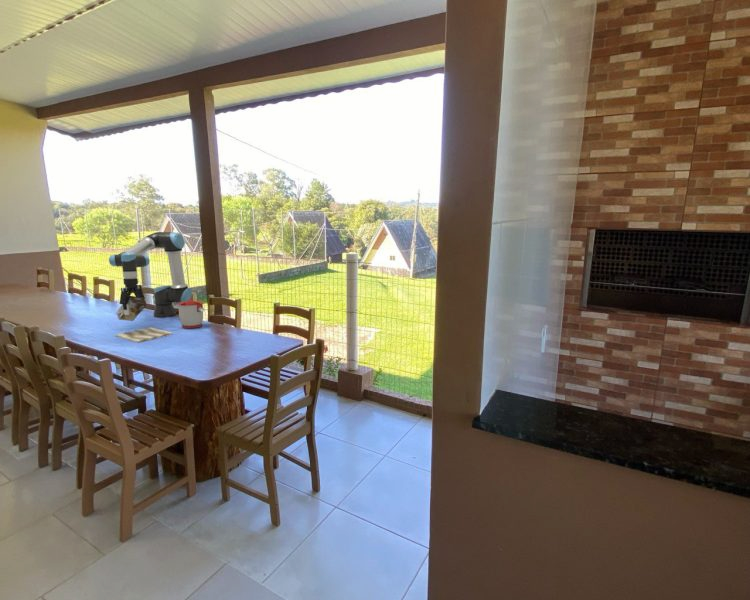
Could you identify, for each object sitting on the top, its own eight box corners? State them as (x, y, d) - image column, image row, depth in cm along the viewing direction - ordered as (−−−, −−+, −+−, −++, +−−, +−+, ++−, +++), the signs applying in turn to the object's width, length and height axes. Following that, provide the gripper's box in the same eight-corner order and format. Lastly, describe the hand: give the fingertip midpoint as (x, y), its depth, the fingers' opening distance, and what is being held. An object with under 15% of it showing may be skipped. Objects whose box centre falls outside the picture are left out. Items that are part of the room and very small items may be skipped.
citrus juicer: (196, 330, 253) (195, 301, 249) (174, 328, 256) (172, 299, 253) (211, 325, 268) (209, 297, 264) (189, 323, 271) (187, 296, 268)
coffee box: (130, 313, 244) (144, 297, 241) (133, 321, 242) (147, 305, 238) (115, 312, 236) (129, 295, 233) (118, 319, 234) (132, 302, 230)
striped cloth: (150, 329, 254) (150, 327, 254) (172, 334, 243) (172, 332, 243) (115, 336, 235) (115, 334, 235) (137, 342, 224) (137, 340, 224)
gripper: (139, 275, 245) (142, 309, 249) (109, 280, 223) (113, 316, 227) (149, 276, 244) (152, 309, 248) (120, 280, 222) (124, 317, 226)
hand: (133, 312), depth 237 cm, fingers closed on coffee box, 10 cm apart
